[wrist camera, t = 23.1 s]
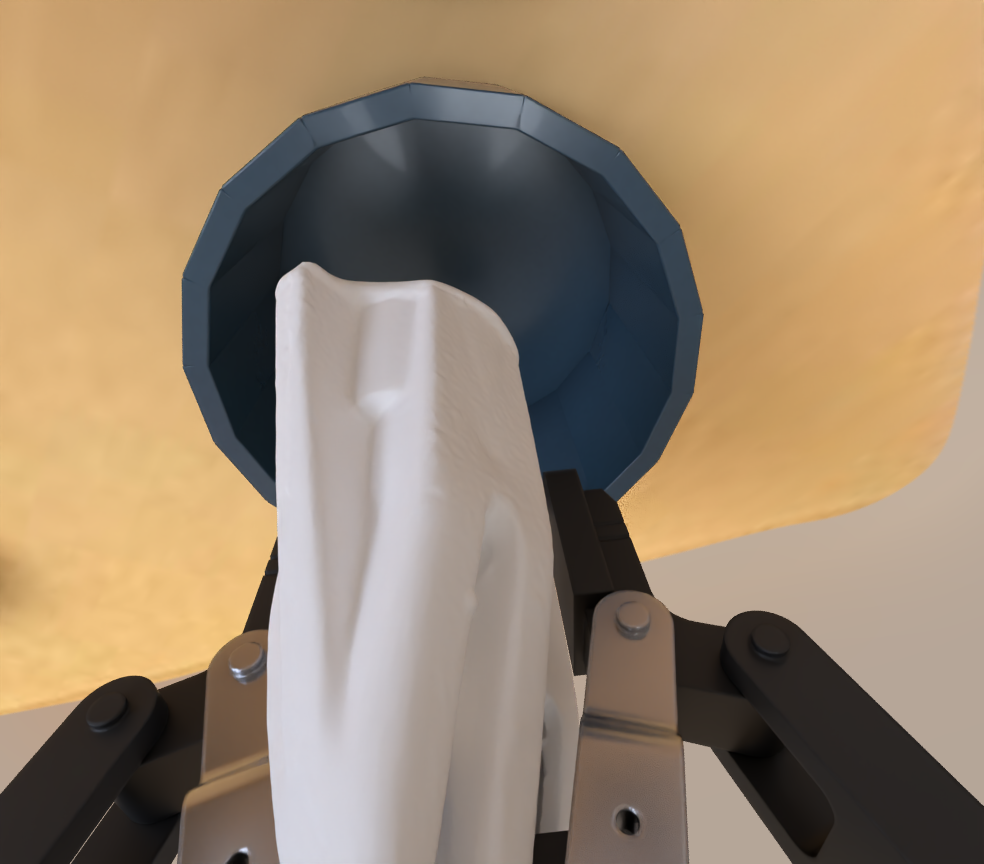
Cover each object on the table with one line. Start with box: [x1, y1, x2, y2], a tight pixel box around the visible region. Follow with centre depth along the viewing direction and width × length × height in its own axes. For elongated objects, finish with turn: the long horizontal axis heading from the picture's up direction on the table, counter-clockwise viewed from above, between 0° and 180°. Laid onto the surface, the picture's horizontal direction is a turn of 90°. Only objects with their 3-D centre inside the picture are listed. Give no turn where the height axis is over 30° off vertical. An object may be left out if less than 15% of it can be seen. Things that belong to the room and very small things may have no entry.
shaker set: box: [267, 262, 579, 864], centre depth 10 cm, size 12×4×11 cm, turn 10°
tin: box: [182, 77, 704, 507], centre depth 23 cm, size 16×17×10 cm
